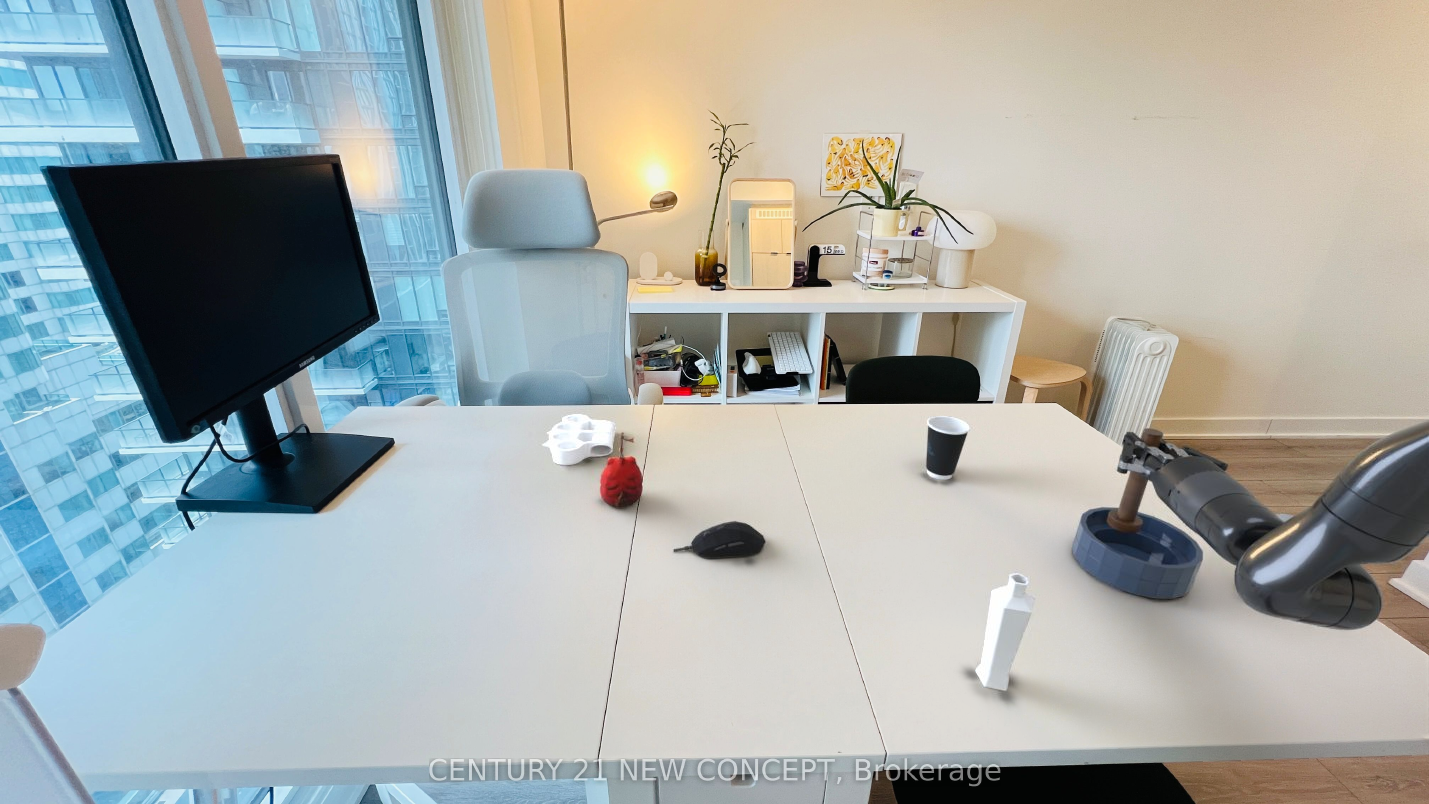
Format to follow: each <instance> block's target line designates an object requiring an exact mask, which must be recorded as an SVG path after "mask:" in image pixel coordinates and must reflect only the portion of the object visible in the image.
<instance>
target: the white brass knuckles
mask: <svg viewBox="0 0 1429 804" xmlns="http://www.w3.org/2000/svg"><path fill="white" fill-rule="evenodd" d="M561 420H562V421H560V422H559V423H557V424H555V425H554V426H553V427H552V428H551V430H550V431H547V434H548V439H549V440H547V442H545V443H543V444H542V446H543V447H546V448H549V449H550V453H551V454H552V461H553V463H555V464H557V465H559V466H573V465H576V464H577V465H578V464H579V463H581V462H582V461H583V460H585V459H587V458H596V457H597V458H598V457H604V456H607V455H610V454H611V453H613V446H614V441H615V436H616V430H617V424H616V423H615V422H613V421H610V420H604V419H591V418H590V417H589V416H587V415H585V414H581V413H579V414H578V413H575V414H569V415H566V416H563V417H562V419H561Z"/></svg>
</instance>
